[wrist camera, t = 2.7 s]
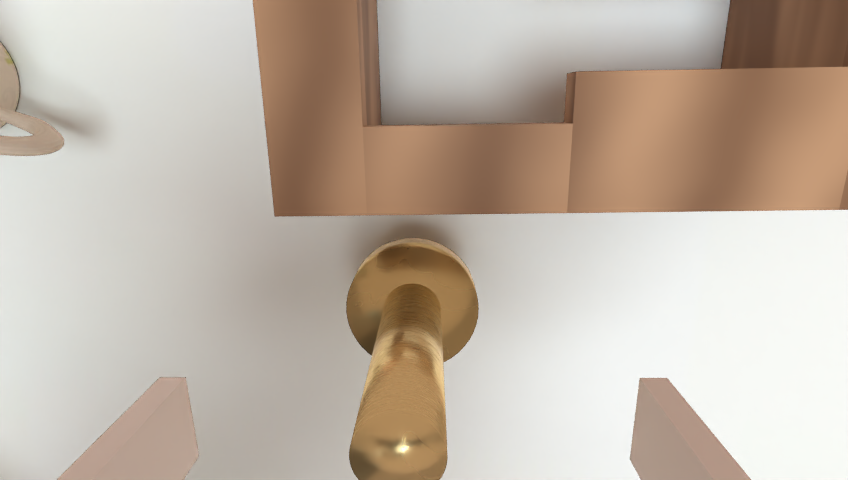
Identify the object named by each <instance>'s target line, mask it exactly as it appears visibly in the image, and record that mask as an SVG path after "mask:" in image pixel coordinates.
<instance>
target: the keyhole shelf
mask: <svg viewBox="0 0 848 480" xmlns="http://www.w3.org/2000/svg"><path fill="white" fill-rule="evenodd" d="M253 7H254V17H255V27H256V37H257V47H258V57H259V67H260V76H261V86H262V96H263V106H264V116H265V126H266V136H267V146H268V155H269V165H270V175H271V185H272V195H273V205H274V215H275V216H349V215H434V214H518V213H603V212H687V211H772V210H848V0H731V2H730V9H729V16H728V23H727V30H726V37H725V44H724V51H723V58H722V65H721V69H692V70H636V71H579V72H572V73H568V74H567V81H566V98H565V114H564V122H558V123H494V124H430V125H381V101H380V75H379V49H378V23H377V0H253Z"/></svg>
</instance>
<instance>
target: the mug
mask: <svg viewBox="0 0 848 480" xmlns="http://www.w3.org/2000/svg"><path fill="white" fill-rule="evenodd" d="M18 99H19V80H18V75H17V71H16V68H15V66H14V63H13V61H12V59H11V57H10V55H9V54H8V52H7V51H6V49H5V48H4V46H3V45H2V44H1V43H0V127H2V126H3V125H4V124H6V123H9V124H12V125H14V126H16V127H18V128H21V129H23V130H25V131H27V132H29V133H31V134H33V135H32V136H24V137H11V136H0V155H12V156H36V155H45V154H50V153H53V152H56V151H58V150H60V149H61V148H62V147H63V145H64V138H63V137H62V135H61V134H60V133H59V132H58V131H57V130H56V129H55V128H53V127H52V126H51V125H49V124H48V123H46V122H45V121H43V120H41V119H38V118H35V117H32V116H29V115H25V114H22V113H19V112H15V109H16V107H17V104H18Z"/></svg>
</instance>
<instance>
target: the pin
mask: <svg viewBox="0 0 848 480" xmlns="http://www.w3.org/2000/svg"><path fill="white" fill-rule="evenodd" d="M347 318H348V322H349V326H350V328H351V330H352V333H353V335H354V336H355V338H356V340H357V341H358V342H359V344H360V345H361V346H362V347H363V348H364V349H365V350H366V351H367V352H368V353H369V354H370V355H372V358H371V362H370V366H369V370H368V374H367V379H366V383H365V387H364V391H363V395H362V399H361V404H360V408H359V412H358V416H357V420H356V424H355V429H354V433H353V437H352V441H351V445H350V451H349V459H350V464H351V468H352V470H353V472H354V474H355V475H356V477H357V478H358V479H359V480H439V479H440V478H441V477H442V475H443V473H444V471H445V468H446V465H447V437H446V414H445V391H444V368H443V362H445V361H447V360H449V359H450V358H452V357H453V356H455V355H456V354H457V353H458V352H459V351H460V350H461V349H462V348H463V347H464V346H465V345H466V344H467V342H468V341H469V340H470V338H471V336H472V334H473V332H474V329H475V327H476V323H477V319H478V299H477V294H476V290H475V286H474V282H473V279H472V276H471V274H470V272H469V270H468V268H467V266H466V265H465V263H464V262H463V261H462V260H461V259H460V258H459V256H458V255H456V254H455V253H454V252H453V251H452V250H450V249H449V248H447V247H445V246H444V245H441V244H439V243H437V242H434V241H431V240H427V239H421V238H404V239H399V240H395V241H392V242H389V243H387V244H385V245H383V246H380V247H379V248H378V249H376V250H375V251H373V252H372V253H371V254H370V255H369V256H368V257H367V258H366V259H365V260H364V261H363V263H362V264H361V266H360V267H359V269H358V271H357V273H356V275H355V277H354V280H353V282H352V284H351V286H350V289H349V293H348V297H347Z"/></svg>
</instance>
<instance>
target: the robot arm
mask: <svg viewBox="0 0 848 480" xmlns="http://www.w3.org/2000/svg"><path fill="white" fill-rule="evenodd" d="M198 457H199V452H198V446H197V440H196V435H195V429H194V423H193V417H192V412H191V406H190V400H189V394H188V388H187V383H186V377H160V378H159V379H158V380H157V381H156V382H155V383H154V384H153V385H152V386H151V387H150V388H149V389H148V390H147V391H146V392H145V393H144V394H143V395H142V396H141V397H140V398H139V399H138V400H137V401H136V402H135V403H134V404H133V405H132V406H131V407H130V408H129V409H128V410H127V411H126V412H125V413H124V414H123V415H122V416H121V417H120V418H119V419H118V420H116V421H115V422H114V423H113V424H112V425H111V426H110V427H109V428H108V429H107V430H106V431H105V432H104V433H103V434H102V435H101V436H100V437H99V438H98V439H97V440H96V441H95V442H94V443H93V444H92V445H91V446H90V447H89V448H88V449H87V450H86V451H85V452H84V453H83V454H82V455H81V456H80V457H79V458H78V459H77V460H76V461H75V462H74V463H73V464H72V465H71V466H70V467H69V468H68V469H67V470H66V471H65V472H64V473H63V474H62V475H61V476H60V477H59V478H58V479H57V480H184V478H185V477H186V475H187V474H188V472H189V471H190V469H191V468H192V466H193V465H194V463H195V462H196V460H197V459H198ZM630 460H631V462H632V464H633V466H634V468H635V470H636V471H637V473H638V475H639V477H640V479H641V480H751V479H750V478H749V477H748V475H747V474H746V473H745V472H744V470H743V469H742V468H741V467H740V466H739V464H738V463H737V462H736V461H735V460H734V458H733V457H732V456H731V455H730V454H729V452H728V451H727V450H726V449H725V447H724V446H723V445H722V444H721V443H720V441H719V440H718V439H717V438H716V437H715V435H714V434H713V433H712V432H711V431H710V429H709V428H708V427H707V426H706V425H705V423H704V422H703V421H702V420H701V418H700V417H699V416H698V415H697V414H696V412H695V411H694V410H693V409H692V408H691V406H690V405H689V404H688V403H687V402H686V400H685V399H684V398H683V397H682V396H681V394H680V393H679V392H678V391H677V389H676V388H675V387H674V386H673V385H672V383H671V382H670V381H669V380H668V379H667V378H640V380H639V388H638V396H637V404H636V413H635V421H634V429H633V437H632V445H631V454H630Z"/></svg>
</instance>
